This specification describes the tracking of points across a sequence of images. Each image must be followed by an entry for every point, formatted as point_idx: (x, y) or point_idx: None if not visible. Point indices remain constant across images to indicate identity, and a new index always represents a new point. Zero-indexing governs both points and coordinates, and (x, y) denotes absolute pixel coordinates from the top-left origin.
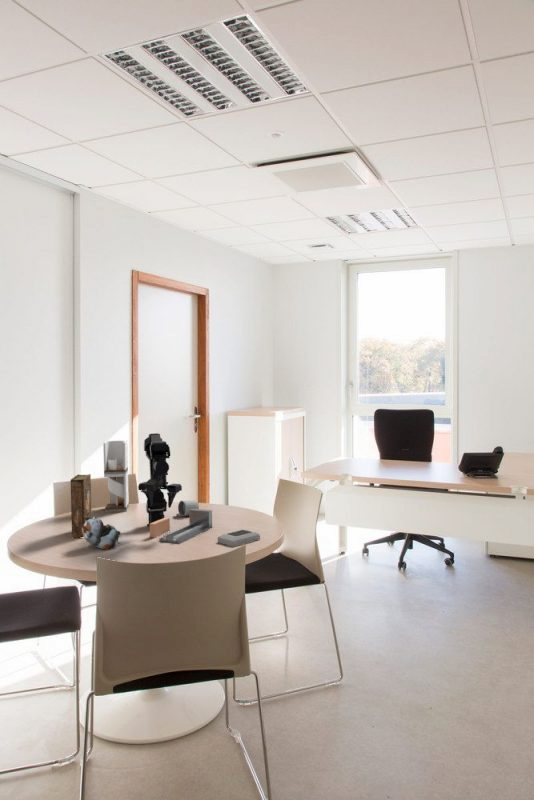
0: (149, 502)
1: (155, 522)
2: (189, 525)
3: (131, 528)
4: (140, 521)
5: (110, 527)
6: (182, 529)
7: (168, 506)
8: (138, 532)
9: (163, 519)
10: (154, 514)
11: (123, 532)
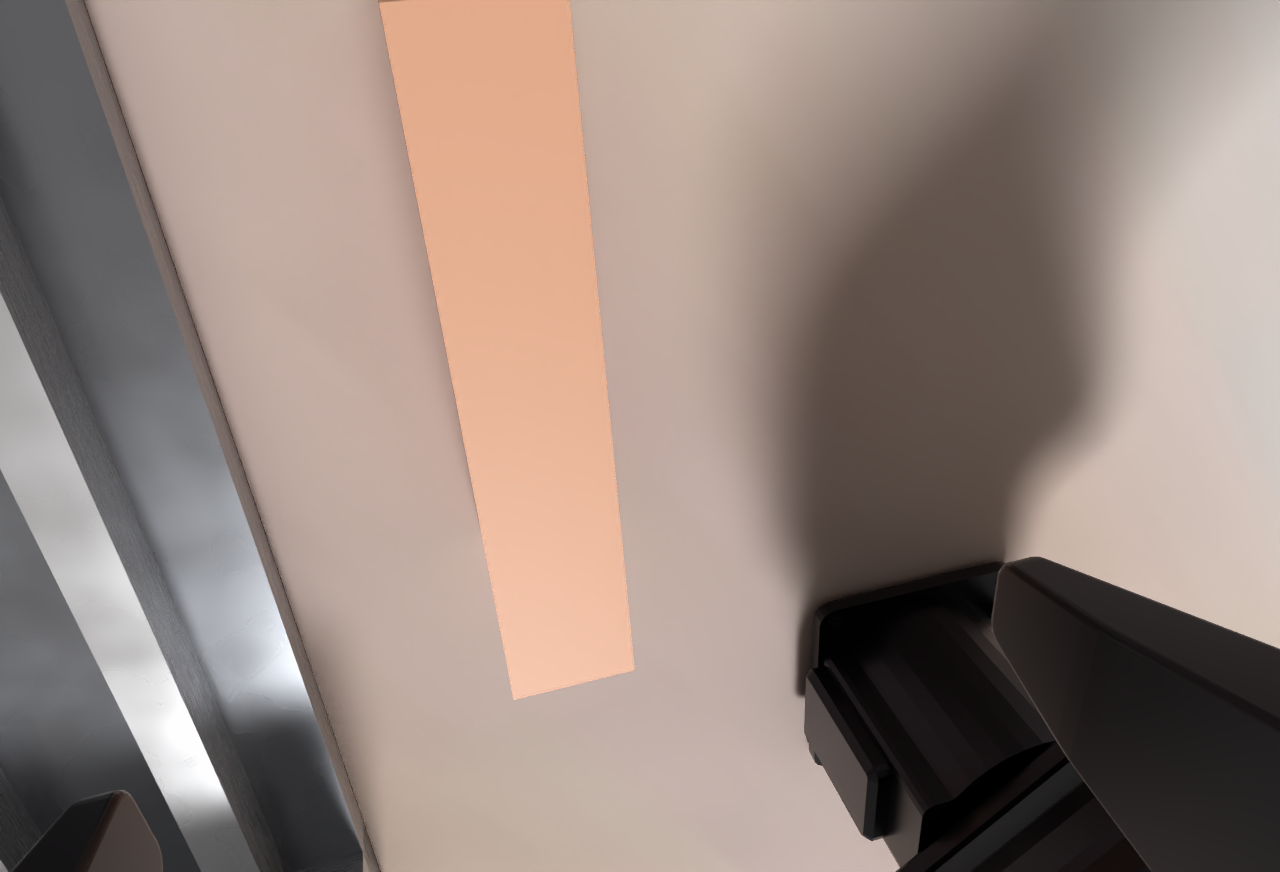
0: (1163, 627)
1: (515, 214)
2: (161, 790)
3: (1150, 345)
4: None
5: None
6: (63, 568)
7: (89, 826)
8: (938, 201)
9: (552, 556)
10: (990, 733)
11: (1183, 69)
